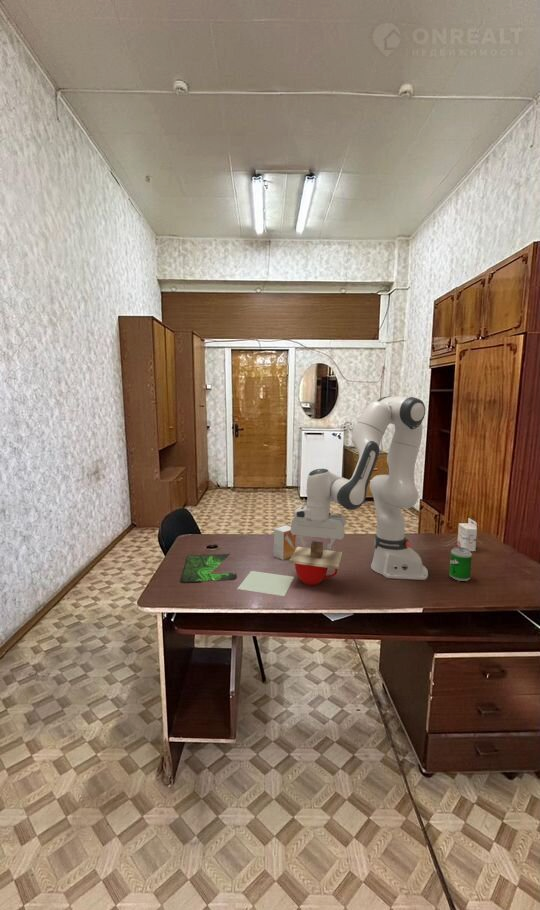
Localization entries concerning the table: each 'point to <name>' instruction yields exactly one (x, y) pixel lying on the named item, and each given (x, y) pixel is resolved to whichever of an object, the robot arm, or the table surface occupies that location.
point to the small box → (284, 542)
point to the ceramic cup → (312, 573)
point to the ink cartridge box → (467, 535)
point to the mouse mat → (204, 569)
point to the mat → (266, 583)
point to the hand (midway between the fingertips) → (316, 547)
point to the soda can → (460, 564)
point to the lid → (316, 556)
